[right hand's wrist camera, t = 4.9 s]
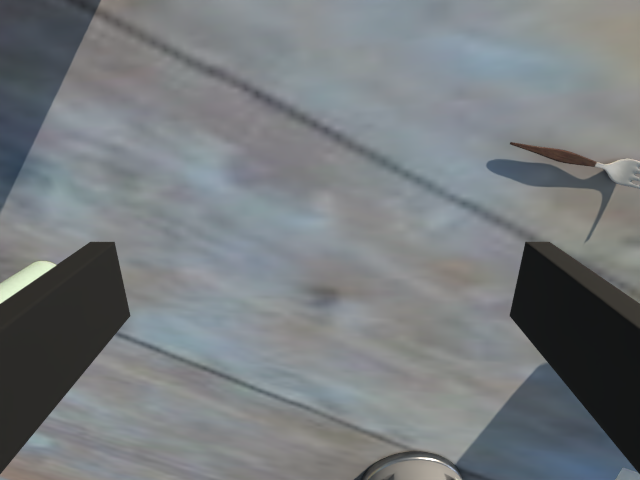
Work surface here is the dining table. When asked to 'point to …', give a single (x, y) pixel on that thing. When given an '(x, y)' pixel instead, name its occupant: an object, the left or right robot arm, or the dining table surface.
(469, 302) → the dining table surface
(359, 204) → the dining table surface
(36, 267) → the pale green cylinder
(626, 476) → the white plastic object
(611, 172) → the fork
